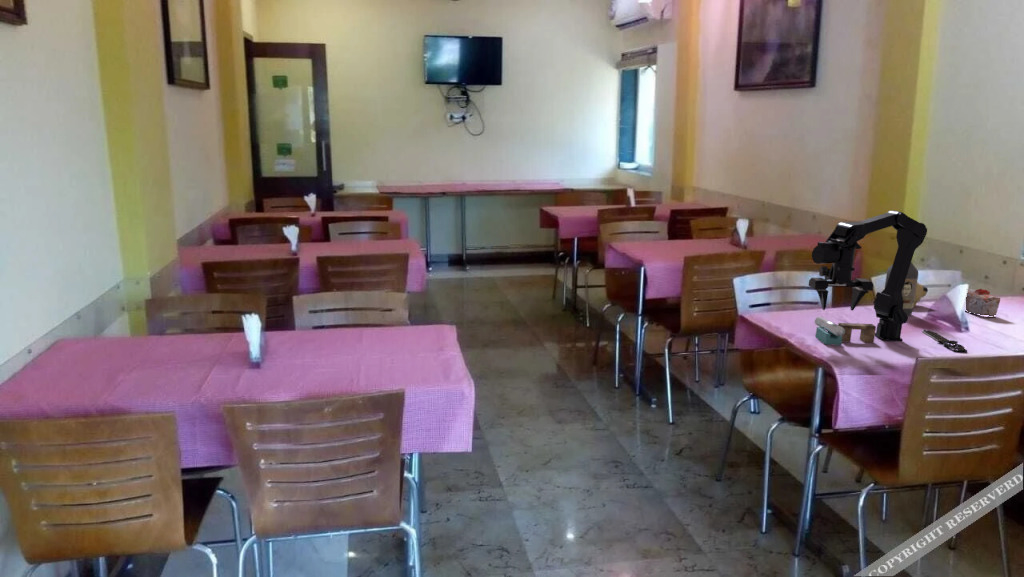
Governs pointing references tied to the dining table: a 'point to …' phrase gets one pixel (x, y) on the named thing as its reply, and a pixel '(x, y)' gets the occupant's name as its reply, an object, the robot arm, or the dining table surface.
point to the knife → (945, 341)
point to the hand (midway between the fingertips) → (837, 309)
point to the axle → (830, 326)
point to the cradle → (827, 337)
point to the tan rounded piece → (919, 293)
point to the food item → (981, 302)
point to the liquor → (907, 288)
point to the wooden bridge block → (866, 329)
